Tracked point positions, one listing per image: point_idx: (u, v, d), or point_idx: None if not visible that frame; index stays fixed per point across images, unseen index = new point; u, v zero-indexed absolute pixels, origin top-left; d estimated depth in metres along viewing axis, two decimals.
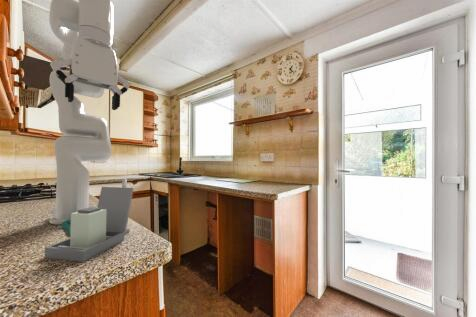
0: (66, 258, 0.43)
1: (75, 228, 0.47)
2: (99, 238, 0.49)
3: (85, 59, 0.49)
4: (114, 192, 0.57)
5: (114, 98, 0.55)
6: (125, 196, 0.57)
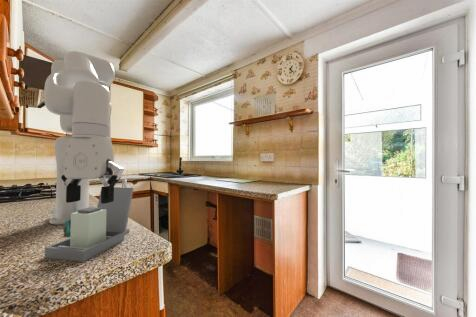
0: (66, 258, 0.43)
1: (75, 228, 0.47)
2: (99, 238, 0.49)
3: None
4: (114, 192, 0.57)
5: (77, 190, 0.50)
6: (125, 196, 0.57)
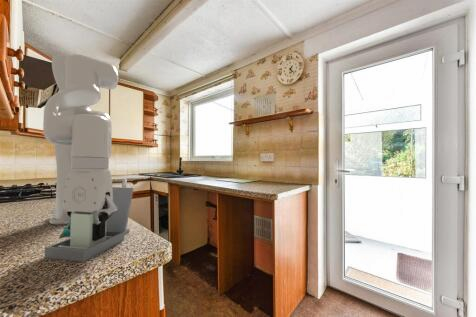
0: (66, 258, 0.43)
1: (75, 228, 0.47)
2: None
3: None
4: (114, 192, 0.57)
5: None
6: (125, 196, 0.57)
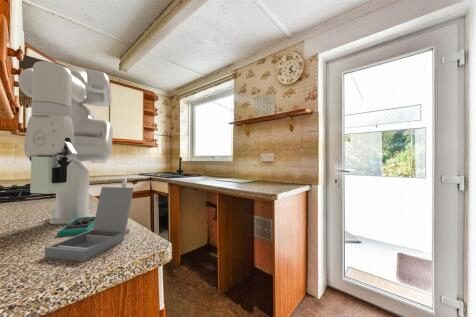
0: (66, 258, 0.43)
1: (35, 170, 0.49)
2: (60, 183, 0.51)
3: None
4: (114, 192, 0.57)
5: None
6: (125, 196, 0.57)
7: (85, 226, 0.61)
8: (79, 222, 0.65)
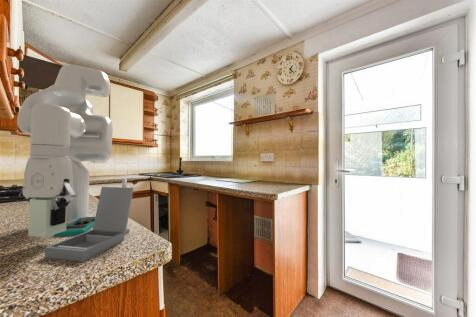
0: (66, 258, 0.43)
1: (33, 213, 0.48)
2: (58, 224, 0.51)
3: None
4: (114, 192, 0.57)
5: None
6: (125, 196, 0.57)
7: (83, 226, 0.61)
8: (80, 222, 0.65)
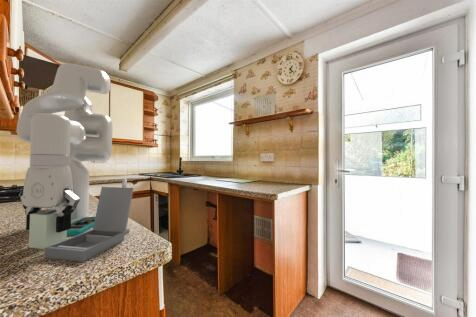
0: (66, 258, 0.43)
1: (34, 228, 0.49)
2: (59, 238, 0.51)
3: None
4: (114, 192, 0.57)
5: None
6: (125, 196, 0.57)
7: (81, 227, 0.60)
8: (81, 222, 0.65)
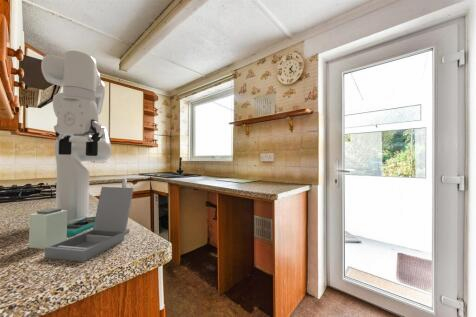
0: (66, 258, 0.43)
1: (34, 228, 0.49)
2: (59, 238, 0.51)
3: None
4: (114, 192, 0.57)
5: (68, 145, 0.60)
6: (125, 196, 0.57)
7: (78, 227, 0.60)
8: (82, 222, 0.65)
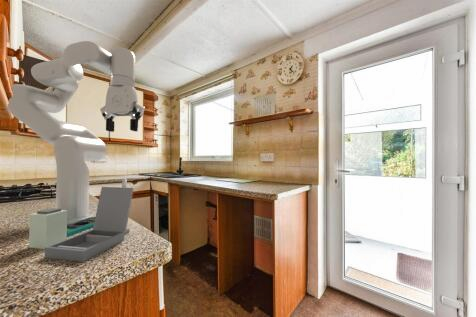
0: (66, 258, 0.43)
1: (34, 228, 0.49)
2: (59, 238, 0.51)
3: None
4: (114, 192, 0.57)
5: (112, 123, 0.73)
6: (125, 196, 0.57)
7: (75, 228, 0.60)
8: (83, 222, 0.65)
